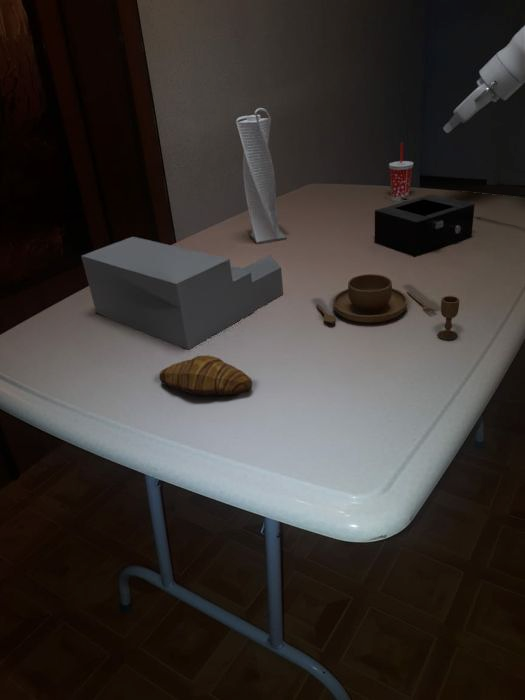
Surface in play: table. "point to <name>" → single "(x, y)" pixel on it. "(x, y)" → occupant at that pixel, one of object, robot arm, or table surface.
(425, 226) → the black open top box
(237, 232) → the table surface
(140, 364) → the table surface
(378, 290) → the place setting
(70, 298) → the table surface
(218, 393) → the croissant
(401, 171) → the beverage cup
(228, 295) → the grey stepped block
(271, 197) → the skyscraper
